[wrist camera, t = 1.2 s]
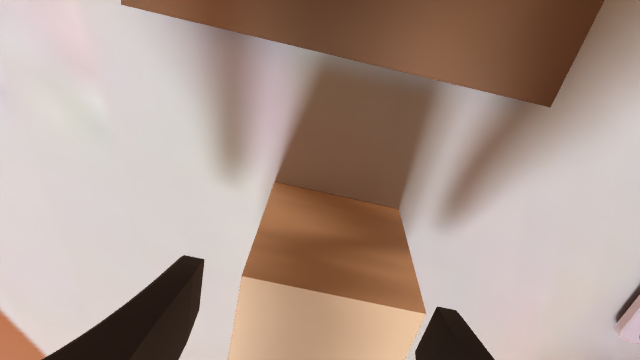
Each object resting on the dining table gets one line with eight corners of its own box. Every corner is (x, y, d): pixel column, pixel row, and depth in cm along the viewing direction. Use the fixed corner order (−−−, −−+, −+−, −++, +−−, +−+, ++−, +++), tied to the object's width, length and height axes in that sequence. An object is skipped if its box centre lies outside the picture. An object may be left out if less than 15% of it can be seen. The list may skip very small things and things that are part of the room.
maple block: (398, 208, 14) (426, 314, 9) (364, 300, 16) (374, 424, 11) (275, 181, 13) (241, 276, 9) (256, 277, 15) (222, 395, 11)
